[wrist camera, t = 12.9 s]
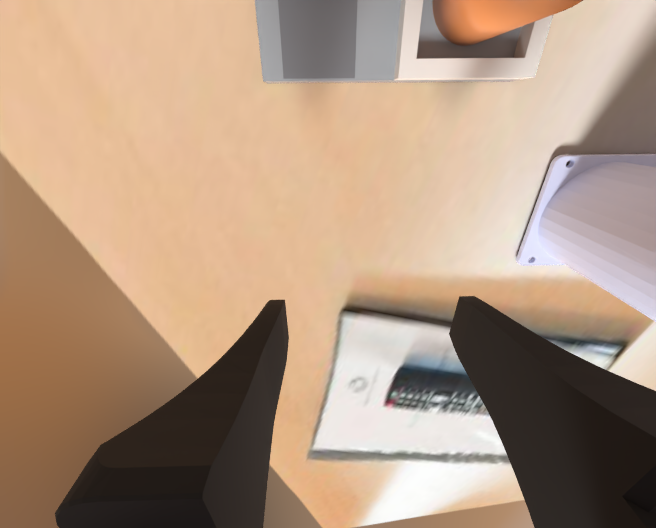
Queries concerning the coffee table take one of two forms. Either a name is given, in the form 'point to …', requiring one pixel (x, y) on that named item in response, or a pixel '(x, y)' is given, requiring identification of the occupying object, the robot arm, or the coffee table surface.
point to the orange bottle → (490, 17)
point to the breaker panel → (384, 44)
